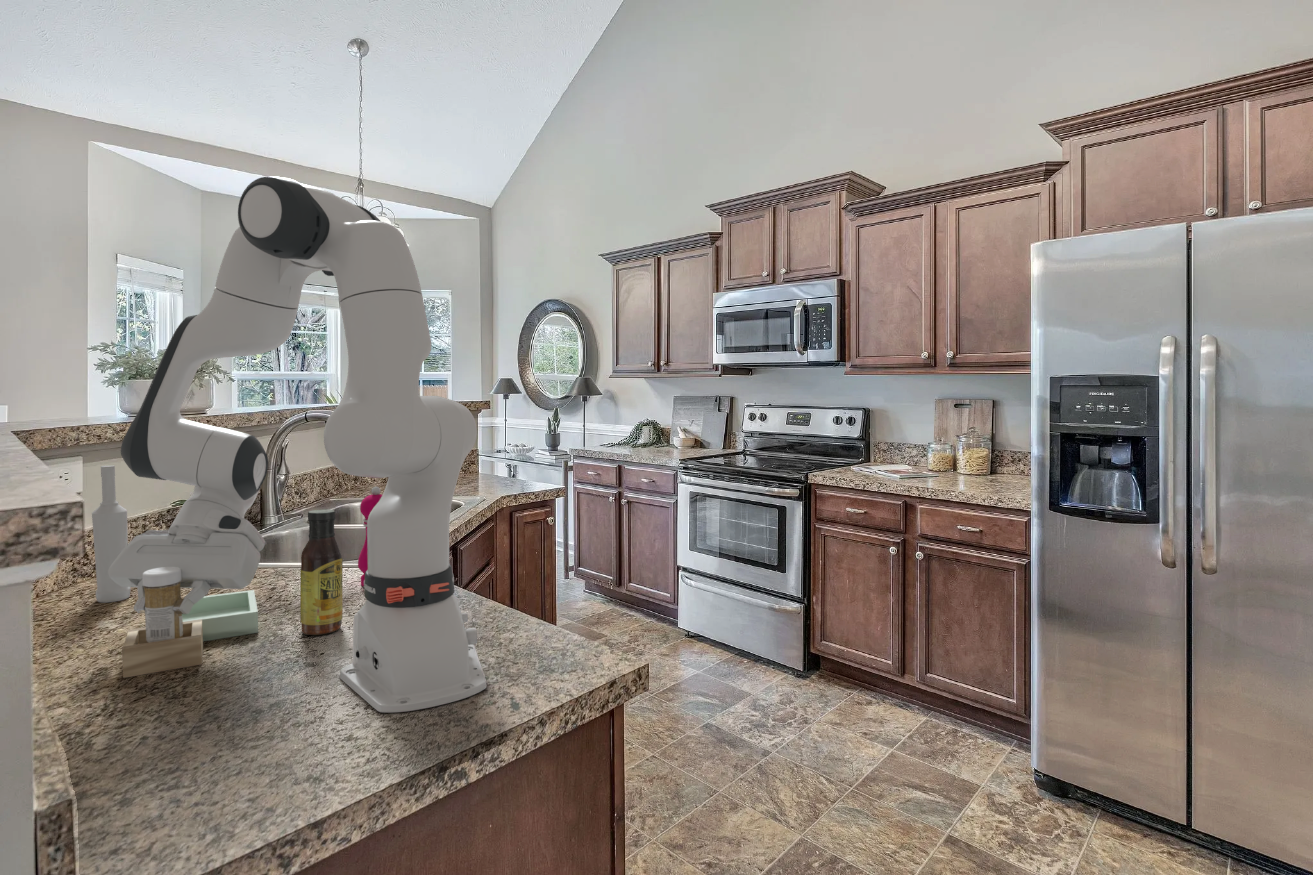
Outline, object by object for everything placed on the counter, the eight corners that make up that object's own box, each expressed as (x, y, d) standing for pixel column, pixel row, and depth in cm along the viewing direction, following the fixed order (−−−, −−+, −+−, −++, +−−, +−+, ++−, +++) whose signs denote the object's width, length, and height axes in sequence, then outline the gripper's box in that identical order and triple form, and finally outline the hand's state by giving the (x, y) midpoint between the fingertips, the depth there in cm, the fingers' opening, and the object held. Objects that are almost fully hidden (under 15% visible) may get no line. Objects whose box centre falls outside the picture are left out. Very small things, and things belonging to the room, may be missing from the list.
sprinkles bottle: (191, 654, 102) (188, 565, 101) (170, 666, 97) (166, 574, 96) (160, 653, 102) (157, 565, 101) (138, 666, 97) (134, 573, 96)
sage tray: (258, 632, 111) (257, 611, 111) (151, 649, 104) (151, 626, 103) (254, 608, 123) (253, 589, 123) (158, 622, 115) (157, 602, 115)
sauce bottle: (325, 638, 109) (323, 515, 107) (291, 635, 110) (288, 513, 109) (352, 625, 115) (349, 508, 114) (319, 622, 117) (316, 507, 115)
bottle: (137, 594, 131) (132, 464, 129) (117, 602, 125) (111, 467, 124) (109, 594, 130) (104, 464, 129) (88, 602, 125) (82, 467, 123)
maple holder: (201, 664, 98) (201, 637, 98) (123, 677, 93) (121, 649, 93) (203, 644, 106) (202, 619, 106) (130, 655, 101) (129, 629, 101)
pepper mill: (402, 578, 143) (400, 484, 142) (387, 588, 136) (385, 489, 135) (368, 578, 144) (366, 483, 142) (351, 588, 136) (349, 488, 135)
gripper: (127, 518, 105) (75, 600, 96) (258, 520, 105) (218, 602, 96) (150, 541, 110) (103, 620, 101) (275, 543, 110) (239, 623, 101)
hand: (160, 612), depth 99 cm, fingers closed on sprinkles bottle, 4 cm apart
